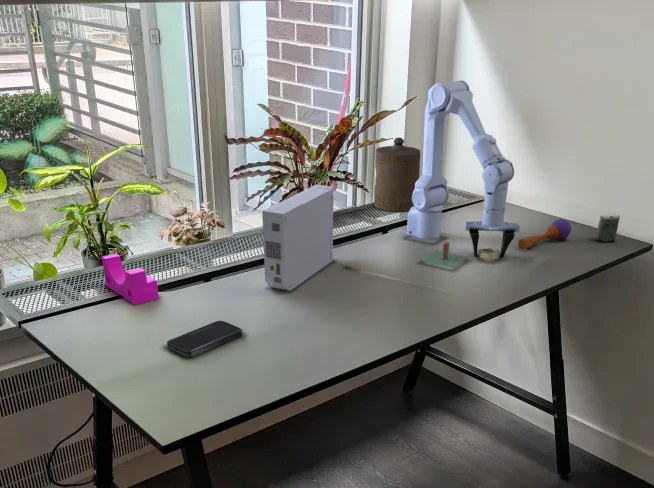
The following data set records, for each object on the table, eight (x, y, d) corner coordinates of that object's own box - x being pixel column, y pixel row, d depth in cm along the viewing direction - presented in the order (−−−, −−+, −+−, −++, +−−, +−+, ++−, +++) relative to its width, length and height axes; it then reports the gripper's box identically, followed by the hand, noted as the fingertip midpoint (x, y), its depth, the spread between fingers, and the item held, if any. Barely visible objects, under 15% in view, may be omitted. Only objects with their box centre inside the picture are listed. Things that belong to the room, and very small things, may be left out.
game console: (335, 260, 199) (335, 187, 189) (286, 294, 177) (284, 214, 167) (316, 257, 201) (315, 184, 191) (265, 290, 179) (262, 210, 169)
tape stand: (419, 263, 198) (420, 244, 195) (436, 253, 205) (437, 234, 202) (452, 271, 193) (454, 251, 190) (468, 260, 200) (470, 241, 198)
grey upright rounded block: (606, 245, 214) (611, 218, 210) (591, 240, 217) (596, 214, 213) (617, 241, 217) (622, 214, 213) (602, 236, 220) (607, 210, 216)
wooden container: (394, 197, 255) (397, 131, 244) (426, 206, 246) (431, 138, 235) (364, 205, 246) (366, 137, 235) (397, 214, 237) (400, 144, 226)
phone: (244, 329, 157) (188, 353, 147) (244, 334, 157) (189, 358, 147) (219, 319, 161) (164, 341, 151) (220, 324, 162) (164, 346, 152)
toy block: (158, 298, 174) (155, 268, 171) (134, 304, 171) (130, 274, 167) (129, 279, 184) (125, 251, 180) (106, 285, 180) (101, 256, 177)
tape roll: (474, 260, 201) (475, 251, 199) (483, 254, 205) (484, 246, 204) (493, 264, 198) (494, 255, 197) (501, 258, 202) (502, 249, 201)
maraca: (513, 233, 209) (558, 216, 219) (515, 253, 211) (559, 235, 221) (530, 235, 204) (574, 217, 214) (531, 255, 207) (575, 237, 217)
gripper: (468, 211, 191) (463, 260, 198) (524, 212, 191) (517, 262, 197) (465, 203, 197) (461, 251, 204) (519, 205, 197) (513, 253, 203)
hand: (488, 256), depth 201 cm, fingers open, 7 cm apart
